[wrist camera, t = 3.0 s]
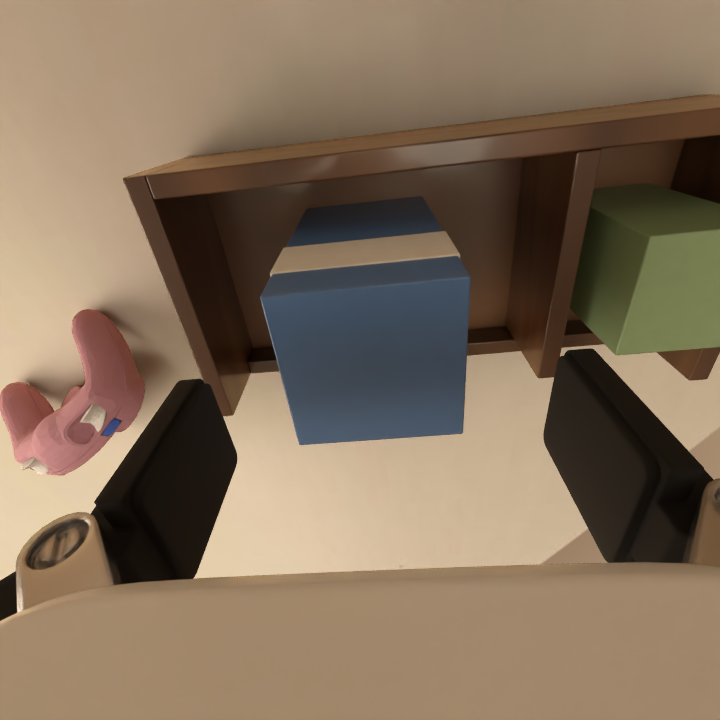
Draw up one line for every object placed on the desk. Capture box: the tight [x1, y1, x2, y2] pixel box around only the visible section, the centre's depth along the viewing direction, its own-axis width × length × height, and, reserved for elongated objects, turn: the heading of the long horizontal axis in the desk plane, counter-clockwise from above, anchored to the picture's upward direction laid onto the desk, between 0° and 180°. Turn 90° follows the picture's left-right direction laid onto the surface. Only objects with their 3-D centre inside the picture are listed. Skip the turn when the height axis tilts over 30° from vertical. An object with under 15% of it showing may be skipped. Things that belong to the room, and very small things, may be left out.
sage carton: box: [570, 183, 720, 355], centre depth 16 cm, size 4×4×7 cm
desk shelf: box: [123, 95, 720, 416], centre depth 18 cm, size 23×11×6 cm, turn 96°
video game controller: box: [0, 309, 145, 475], centre depth 23 cm, size 10×5×7 cm, turn 128°
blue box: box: [260, 196, 471, 445], centre depth 16 cm, size 6×6×10 cm
